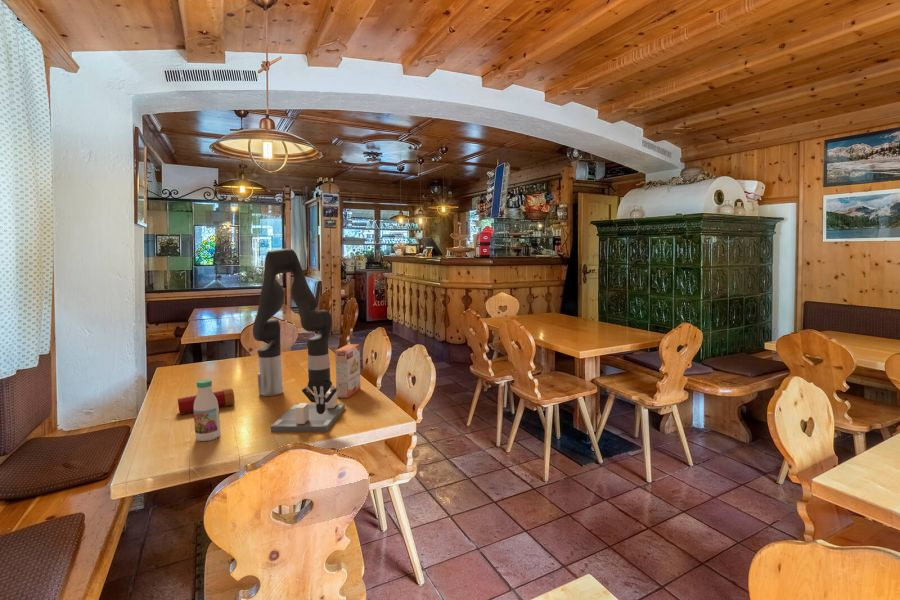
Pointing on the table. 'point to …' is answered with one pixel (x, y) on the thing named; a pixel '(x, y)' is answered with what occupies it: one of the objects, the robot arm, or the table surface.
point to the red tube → (222, 396)
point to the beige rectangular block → (301, 413)
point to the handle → (331, 400)
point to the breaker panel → (312, 424)
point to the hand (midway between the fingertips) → (321, 413)
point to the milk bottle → (206, 412)
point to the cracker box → (347, 370)
